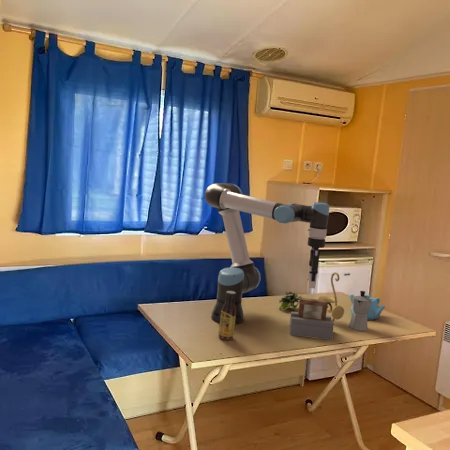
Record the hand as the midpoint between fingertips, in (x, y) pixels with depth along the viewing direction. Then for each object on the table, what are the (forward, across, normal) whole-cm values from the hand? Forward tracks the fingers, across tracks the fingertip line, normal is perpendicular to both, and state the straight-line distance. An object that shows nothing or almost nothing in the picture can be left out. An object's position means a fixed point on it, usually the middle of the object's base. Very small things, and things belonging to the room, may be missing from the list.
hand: (311, 284), depth 204 cm
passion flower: (+22, -27, -6) cm, 36 cm away
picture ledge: (+21, +2, +2) cm, 22 cm away
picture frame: (+16, +2, +2) cm, 17 cm away
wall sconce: (+22, -16, +12) cm, 29 cm away
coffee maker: (+21, -13, +26) cm, 36 cm away
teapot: (+22, -33, +32) cm, 51 cm away
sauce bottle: (+22, +22, -34) cm, 46 cm away
